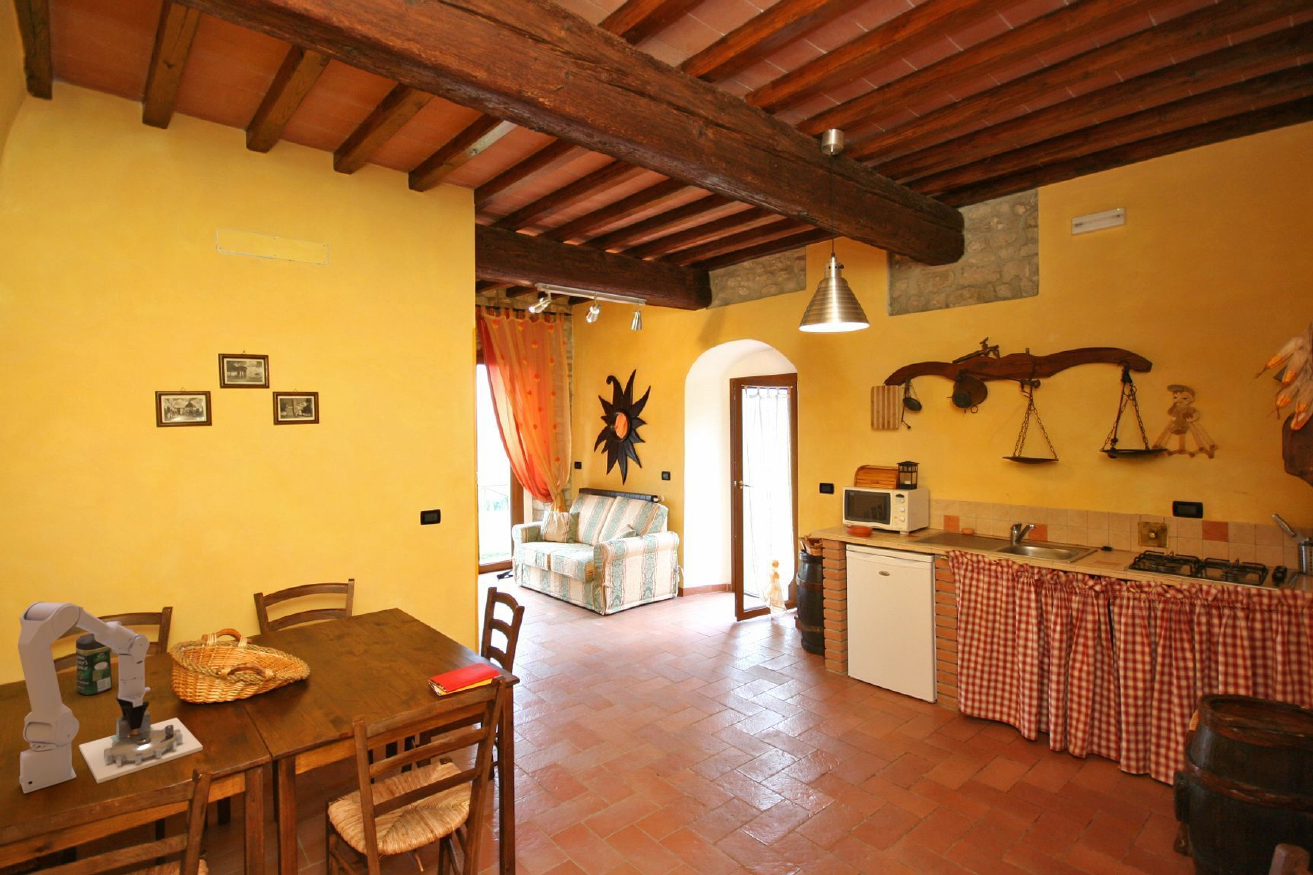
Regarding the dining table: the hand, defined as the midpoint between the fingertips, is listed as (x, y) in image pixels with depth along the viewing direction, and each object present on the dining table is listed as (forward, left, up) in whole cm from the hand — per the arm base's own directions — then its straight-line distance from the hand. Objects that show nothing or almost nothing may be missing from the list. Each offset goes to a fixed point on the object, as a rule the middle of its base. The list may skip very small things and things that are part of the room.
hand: (132, 724), depth 185 cm
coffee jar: (-1, +50, -4) cm, 51 cm away
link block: (0, 0, -3) cm, 3 cm away
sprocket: (0, -14, -3) cm, 14 cm away
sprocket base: (0, -10, -4) cm, 10 cm away
